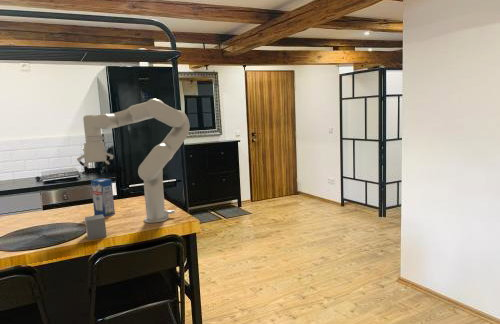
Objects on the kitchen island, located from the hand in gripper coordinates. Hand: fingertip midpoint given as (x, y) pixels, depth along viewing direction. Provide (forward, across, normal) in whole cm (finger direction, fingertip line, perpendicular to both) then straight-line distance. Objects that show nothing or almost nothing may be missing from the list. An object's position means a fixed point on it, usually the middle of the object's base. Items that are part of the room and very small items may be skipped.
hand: (97, 173), depth 185 cm
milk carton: (+26, -3, -18) cm, 32 cm away
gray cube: (+26, +5, +21) cm, 34 cm away
